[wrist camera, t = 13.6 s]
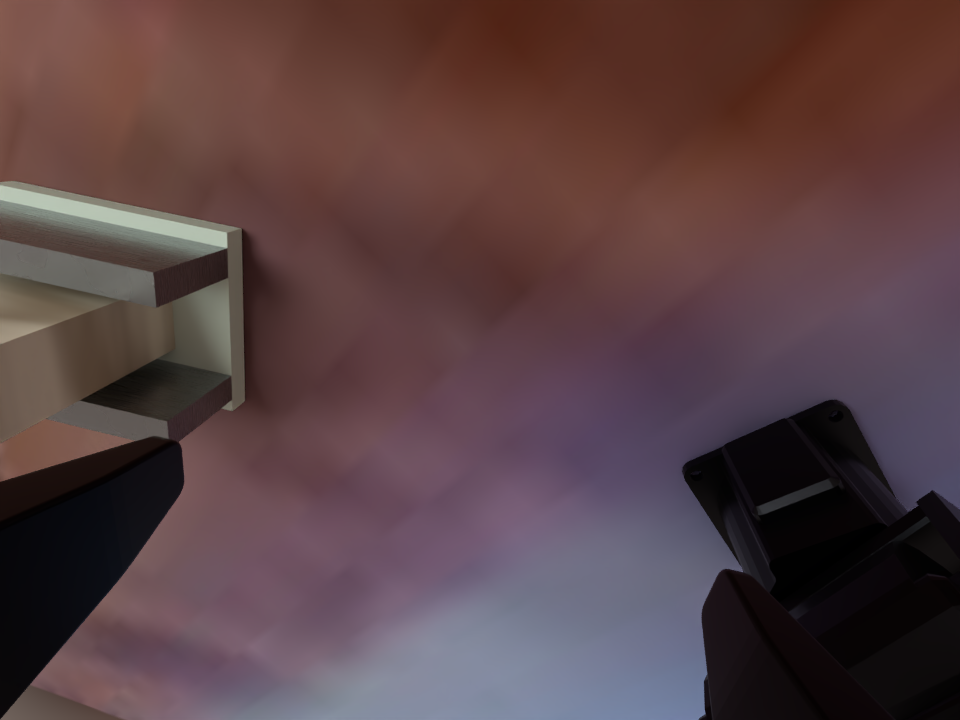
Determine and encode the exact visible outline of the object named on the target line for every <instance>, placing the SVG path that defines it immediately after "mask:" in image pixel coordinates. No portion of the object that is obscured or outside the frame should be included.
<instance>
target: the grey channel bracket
mask: <svg viewBox="0 0 960 720" xmlns="http://www.w3.org/2000/svg"><path fill="white" fill-rule="evenodd" d="M0 273H3V274H7V275H11V276H16V277H20V278H25V279H29V280H34V281H38V282H43V283H47V284H52V285H56V286H61V287H65V288H70V289H74V290H79V291H83V292H88V293H92V294H97V295H101V296H106V297H110V298H115V299H119V300H123V301H128V302H132V303H137V304H141V305H146V306H150V307H155V308H157V307H160V306H162V305H165V304H167V303H169V302H172V308H173V321H174V335H175V348H176V349H174V350H172V351H170V352H168V353H166V354H164V355H163V356H161V357H159V358H157V359H155V360H153V361H152V362H150V363H148V364H146V365H144V366H142V367H140V368H139V369H137V370H135V371H133V372H131V373H129V374H128V375H126V376H124V377H122V378H120V379H118V380H116V381H115V382H113V383H111V384H109V385H107V386H105V387H104V388H102V389H100V390H98V391H96V392H94V393H92V394H91V395H89V396H87V397H85V398H83V399H81V400H80V401H78V402H76V403H74V404H72V405H70V406H68V407H67V408H65V409H63V410H61V411H59V412H57V413H56V414H54V415H52V416H50V417H48V418H46V419H49V420H53V421H57V422H61V423H65V424H69V425H73V426H77V427H81V428H86V429H90V430H94V431H98V432H102V433H106V434H110V435H114V436H118V437H123V438H127V439H131V440H135V441H137V440H141V439H144V438H147V437H151V436H159V437H163V438H168V439H172V440H175V441H177V442H179V441H180V440H182V439H183V438H184V437H185V436H187V435H188V434H189V433H190V432H192V431H193V430H194V429H196V428H197V427H198V426H199V425H201V424H202V423H203V422H204V421H206V420H207V419H208V418H210V417H211V416H212V415H213V414H215V413H216V412H217V411H218V410H220V409H225V410H229V411H234V410H235V409H236V408H237V407H238V406H240V405H241V404H242V403H243V402H245V371H244V321H243V270H242V229H241V228H237V227H232V226H227V225H222V224H217V223H213V222H208V221H203V220H198V219H194V218H189V217H184V216H179V215H174V214H170V213H165V212H160V211H155V210H151V209H146V208H141V207H136V206H131V205H127V204H122V203H117V202H112V201H107V200H103V199H98V198H93V197H88V196H84V195H79V194H74V193H69V192H64V191H60V190H55V189H50V188H45V187H40V186H36V185H31V184H26V183H21V182H17V181H8V182H0Z"/></svg>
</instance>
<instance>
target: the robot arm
mask: <svg viewBox="0 0 960 720" xmlns="http://www.w3.org/2000/svg"><path fill="white" fill-rule="evenodd" d="M836 410H838V413H837V415H835V416H834V417H828V416H829V414H830V413H831V412H832V411H836ZM694 471H701V472H700V473H699V474H698V475H691V473H692V472H694ZM682 473H683V475H684V478H685V481H686V483H687V484H688V486H689V487H690V489H691V490H692V492H693V493H694V495H695V496H696V498H697V499H698V501H699V502H700V504H701V506H702V507H703V509H704V510H705V512H706V513H707V515H708V516H709V518H710V519H711V521H712V522H713V524H714V525H715V527H716V529H717V530H718V532H719V533H720V535H721V536H722V538H723V539H724V541H725V542H726V544H727V545H728V547H729V548H730V550H731V552H732V553H733V555H734V556H735V558H736V559H737V561H738V562H739V564H740V565H741V567H742V569H743V572H744V573H743V572H739V571H734V570H730V569H724V570H722V571H721V572H720V573H719V574H718V576H717V578H716V580H715V582H714V584H713V586H712V588H711V590H710V592H709V594H708V596H707V598H706V601H705V603H704V605H703V609H702V628H703V638H704V647H705V656H706V665H707V676H706V678H705V680H704V697H705V712H706V714H705V715H703V716H702V717H700V718H699V720H960V510H959V509H958V508H957V507H955V506H954V505H953V504H951V503H950V502H948V501H947V500H946V499H944V498H943V497H942V496H940V495H939V494H937V493H936V492H935V491H933V490H932V491H931V492H929V493H928V494H927V495H925V496H924V497H922V498H921V499H919V500H918V501H917V502H916V503H917V504H918V505H919V506H917V507H916V508H914V509H913V510H911V511H910V512H908V511H907V510H906V509H905V508H904V507H903V506H902V505H901V504H900V502H899V501H898V500H897V499H896V498H895V496H894V494H893V492H892V490H891V488H890V486H889V484H888V482H887V480H886V478H885V477H884V475H883V473H882V471H881V469H880V467H879V465H878V463H877V461H876V459H875V457H874V456H873V454H872V452H871V450H870V448H869V446H868V444H867V442H866V440H865V438H864V437H863V435H862V433H861V431H860V429H859V427H858V425H857V423H856V421H855V419H854V417H853V416H852V414H851V412H850V410H849V409H848V408H847V407H846V406H845V405H844V404H843V403H842V402H840V401H838V400H828V401H825V402H823V403H821V404H818V405H816V406H814V407H811V408H809V409H807V410H805V411H802V412H800V413H798V414H796V415H793V416H791V417H789V418H786V419H785V418H784V419H781V420H779V421H777V422H774V423H772V424H770V425H768V426H765V427H763V428H761V429H758V430H756V431H754V432H752V433H749V434H747V435H745V436H743V437H740V438H738V439H736V440H734V441H731V442H729V443H727V444H725V445H724V446H723V447H721V448H718V449H716V450H714V451H712V452H709V453H707V454H705V455H703V456H700V457H698V458H696V459H693V460H691V461H689V462H687V463H686V464H685V465H684V466H683V469H682ZM183 486H184V470H183V458H182V448H181V445H180V444H179V442H177V441H175V440H172V439H168V438H163V437H159V436H151V437H147V438H144V439H141V440H137V441H134V442H131V443H127V444H124V445H121V446H118V447H114V448H111V449H108V450H104V451H101V452H98V453H94V454H91V455H88V456H84V457H81V458H78V459H74V460H71V461H68V462H64V463H61V464H58V465H55V466H51V467H48V468H45V469H41V470H38V471H35V472H31V473H28V474H25V475H21V476H18V477H15V478H11V479H8V480H5V481H1V482H0V719H1V718H2V717H3V716H4V714H5V713H6V712H7V711H8V710H9V708H10V707H11V706H12V705H13V704H14V703H15V701H16V700H17V699H18V698H19V697H20V696H21V694H22V693H23V692H24V691H25V690H26V689H27V687H28V686H29V685H30V684H31V683H32V682H33V680H34V679H35V678H36V677H37V676H38V675H39V673H40V672H41V671H42V670H43V669H44V667H45V666H46V665H47V664H48V663H49V662H50V660H51V659H52V658H53V657H54V656H55V655H56V653H57V652H58V651H59V650H60V649H61V648H62V646H63V645H64V644H65V643H66V642H67V640H68V639H69V638H70V637H71V636H72V635H73V633H74V632H75V631H76V630H77V629H78V628H79V626H80V625H81V624H82V623H83V622H84V621H85V619H86V618H87V617H88V616H89V615H90V613H91V612H92V611H93V610H94V609H95V608H96V606H97V605H98V604H99V603H100V602H101V601H102V599H103V598H104V597H105V596H106V595H107V594H108V592H109V591H110V590H111V589H112V588H113V586H114V585H115V584H116V583H117V581H118V580H119V579H120V578H121V577H122V575H123V574H124V573H125V571H126V570H127V569H128V567H129V566H130V565H131V563H132V562H133V561H134V559H135V558H136V557H137V555H138V554H139V552H140V551H141V549H142V548H143V547H144V545H145V544H146V542H147V541H148V539H149V538H150V537H151V535H152V534H153V532H154V531H155V529H156V528H157V527H158V525H159V524H160V522H161V521H162V519H163V518H164V517H165V515H166V514H167V512H168V511H169V509H170V508H171V507H172V505H173V504H174V502H175V501H176V499H177V498H178V497H179V495H180V493H181V491H182V489H183Z"/></svg>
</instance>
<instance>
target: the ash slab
mask: <svg viewBox="0 0 960 720" xmlns="http://www.w3.org/2000/svg"><path fill="white" fill-rule="evenodd" d="M174 349H176V348H175V335H174V321H173V308H172V302H169V303H167V304H165V305H162V306H160V307H157V308H155V307H150V306H146V305H141V304H137V303H132V302H128V301H123V300H119V299H115V298H110V297H106V296H101V295H97V294H92V293H88V292H83V291H79V290H74V289H70V288H65V287H61V286H56V285H52V284H47V283H43V282H38V281H34V280H29V279H25V278H20V277H16V276H11V275H7V274H3V273H0V443H2V442H4V441H6V440H8V439H9V438H11V437H13V436H15V435H17V434H19V433H20V432H22V431H24V430H26V429H28V428H30V427H32V426H33V425H35V424H37V423H39V422H41V421H43V420H44V419H46V418H48V417H50V416H52V415H54V414H56V413H57V412H59V411H61V410H63V409H65V408H67V407H68V406H70V405H72V404H74V403H76V402H78V401H80V400H81V399H83V398H85V397H87V396H89V395H91V394H92V393H94V392H96V391H98V390H100V389H102V388H104V387H105V386H107V385H109V384H111V383H113V382H115V381H116V380H118V379H120V378H122V377H124V376H126V375H128V374H129V373H131V372H133V371H135V370H137V369H139V368H140V367H142V366H144V365H146V364H148V363H150V362H152V361H153V360H155V359H157V358H159V357H161V356H163V355H164V354H166V353H168V352H170V351H172V350H174Z"/></svg>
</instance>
